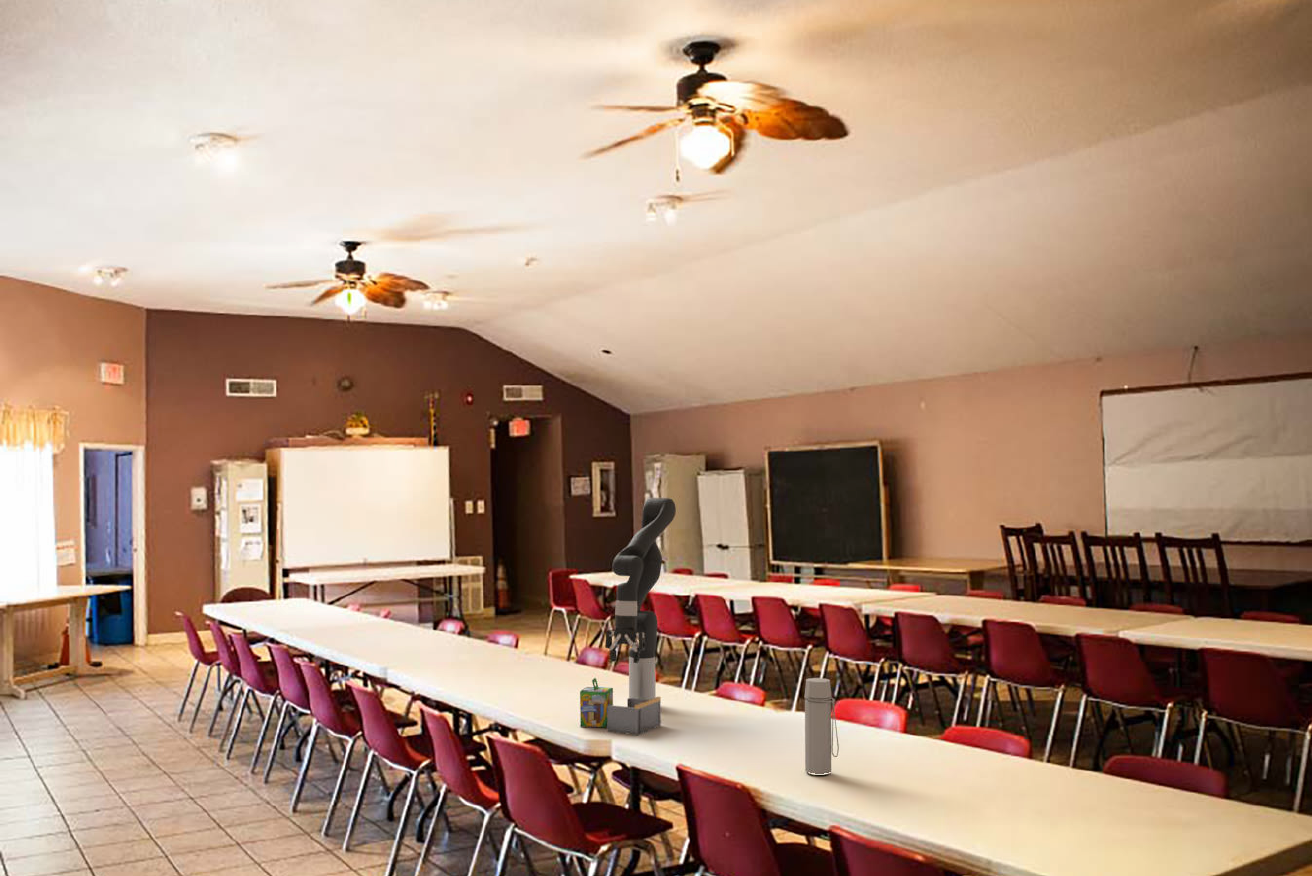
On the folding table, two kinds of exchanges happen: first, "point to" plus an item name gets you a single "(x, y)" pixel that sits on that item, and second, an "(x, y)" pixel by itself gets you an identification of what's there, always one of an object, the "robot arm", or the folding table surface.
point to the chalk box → (595, 705)
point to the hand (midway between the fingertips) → (624, 662)
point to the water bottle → (818, 726)
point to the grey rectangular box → (634, 716)
